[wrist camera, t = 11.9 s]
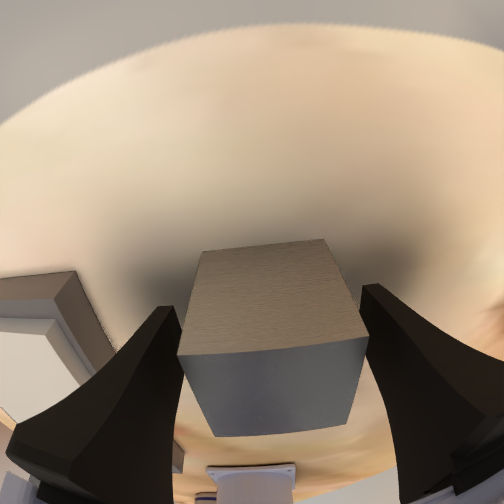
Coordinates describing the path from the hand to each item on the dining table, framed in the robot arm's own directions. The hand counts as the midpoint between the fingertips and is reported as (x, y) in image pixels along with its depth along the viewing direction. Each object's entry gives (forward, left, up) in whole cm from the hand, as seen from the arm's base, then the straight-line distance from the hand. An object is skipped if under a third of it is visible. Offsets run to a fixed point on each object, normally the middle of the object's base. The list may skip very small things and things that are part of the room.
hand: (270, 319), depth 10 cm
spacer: (0, 0, -2) cm, 2 cm away
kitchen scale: (-7, +16, -1) cm, 18 cm away
